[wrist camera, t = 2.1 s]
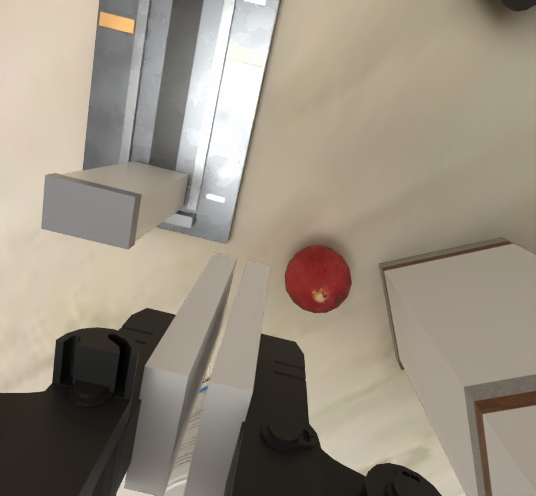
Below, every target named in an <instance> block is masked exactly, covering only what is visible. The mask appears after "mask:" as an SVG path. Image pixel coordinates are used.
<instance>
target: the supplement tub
mask: <svg viewBox="0 0 536 496" xmlns="http://www.w3.org/2000/svg"><path fill="white" fill-rule="evenodd" d="M209 381H210V380H209ZM209 381H206V382H205V383H203V384H202V386H201V389H200V392H199V395H198V398H197V400H196V403H195V406H194V409H193V412H192V415H191V418H190V421H189V424H188V427H187V430H186V433H185V436H184V438H183V441H182V444H181V447H180V450H179V453H178V456H177V459H176V462H175V465H174V468H173V471H172V473H171V476H170V479H169V482H168V485H167V488H166V491H165V494H164V496H183V495H184V491H185V486H186V482H187V477H188V473H189V469H190V464H191V460H192V455H193V451H194V447H195V442H196V438H197V433H198V429H199V425H200V420H201V416H202V411H203V407H204V403H205V398H206V394H207V389H208V385H209ZM155 496H156V495H155Z"/></svg>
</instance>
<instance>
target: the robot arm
mask: <svg viewBox="0 0 536 496" xmlns="http://www.w3.org/2000/svg"><path fill="white" fill-rule="evenodd" d="M236 260H237V257H232V256H228V255H224V254H220V253H216V252H214V254H213V256H212V257H211V259H210V261H209V262H208V264H207V265H206V267H205V269H204V270H203V272H202V274H201V275H200V277H199V278H198V280H197V282H196V283H195V285H194V287H193V288H192V290H191V292H190V293H189V295H188V296H187V298H186V300H185V301H184V303H183V305H182V306H181V308H180V309H179V311H178V313H177V314H176V315H174V314H170V313H166V312H162V311H158V310H153V309H149V308H146V309H144V310H142V311H140V312H137V313H135V314H133V315H131V316H130V318H129V319H128V320H127V321H126V322H125V323H124V325H123V326H122V328H120V329H119V331H117V330H114V329H107V328H85V329H79V330H76V331H73V332H69V333H67V334H65V335H64V336H62V337H60V338H59V339H57V340H56V347H55V358H54V369H53V381H52V384H51V385H50V386H49V387H48V388H47V389H46V391H43V392H33V393H0V496H116V493H117V490H118V488H119V486H120V484H121V482H122V480H123V478H124V476H125V474H126V472H127V474H126V481H125V486H124V488H125V489H130V490H134V491H138V492H143V493H147V494H151V495H156V496H164V494H165V491H166V488H167V485H168V482H169V479H170V476H171V473H172V471H173V468H174V465H175V462H176V459H177V456H178V453H179V450H180V447H181V444H182V441H183V438H184V436H185V433H186V430H187V427H188V424H189V421H190V418H191V415H192V412H193V409H194V406H195V403H196V400H197V398H198V395H199V392H200V389H201V386H202V383H203V380H204V377H205V374H206V371H207V368H208V365H209V363H210V360H211V357H212V354H213V351H214V348H215V345H216V342H217V339H218V336H219V333H220V330H221V326H222V322H223V318H224V313H225V309H226V304H227V300H228V295H229V291H230V287H231V282H232V278H233V273H234V269H235V265H236ZM269 270H270V265H265V264H261V263H257V262H253V261H249V260H248V261H247V264H246V267H245V271H244V274H243V277H242V280H241V283H240V286H239V289H238V293H237V296H236V299H235V302H234V305H233V308H232V311H231V315H230V318H229V321H228V324H227V327H226V330H225V334H224V337H223V340H222V343H221V346H220V349H219V352H218V356H217V359H216V362H215V365H214V368H213V371H212V374H211V378H210V381H209V385H208V389H207V394H206V398H205V403H204V407H203V411H202V416H201V420H200V425H199V429H198V433H197V438H196V442H195V447H194V451H193V455H192V460H191V464H190V469H189V473H188V477H187V482H186V486H185V491H184V495H183V496H442V495H441V494H440V493H439V492H438V491H437V489H436V488H435V487H434V486H433V485H432V484H431V483H430V482H428V481H427V480H426V479H425V478H423V477H422V476H421V475H420V474H418V473H416V472H414V471H412V470H410V469H408V468H406V467H404V466H400V465H396V464H391V463H385V464H378V465H376V466H374V467H373V468H372V469H371V470H370V471H368V473H367V476H364V475H362V474H360V473H358V472H356V471H354V470H352V469H350V468H348V467H346V466H344V465H342V464H341V463H339V462H337V461H336V460H334V459H333V458H331V457H330V456H329V455H328V454H327V453H325V452H324V451H323V450H322V449H321V446H320V442H319V439H318V436H317V433H316V432H315V431H314V429H313V428H312V427H311V425H310V424H309V418H308V404H307V389H306V381H305V379H306V375H305V361H304V354H303V352H302V351H301V349H300V348H299V346H298V345H297V343H296V342H294V341H289V340H285V339H281V338H277V337H273V336H268V335H264V334H261V329H262V321H263V314H264V307H265V299H266V292H267V285H268V278H269Z"/></svg>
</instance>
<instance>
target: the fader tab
mask: <svg viewBox="0 0 536 496" xmlns="http://www.w3.org/2000/svg"><path fill="white" fill-rule="evenodd" d="M188 177H189V175H188V174H184V173H180V172H176V171H172V170H168V169H164V168H160V167H156V166H152V165H148V164H144V163H140V162H135V161H131V162H126V163H120V164H115V165H110V166H104V167H99V168H94V169H88V170H83V171H77V172H72V173H67V174H61V175H60V174H56V173H54V174H48V175H45V186H44V200H43V214H42V228H41V229H45V230H50V231H54V232H58V233H62V234H66V235H70V236H74V237H79V238H83V239H87V240H91V241H95V242H99V243H103V244H108V245H112V246H116V247H120V248H124V249H129V248H131V247H132V246H133V245H134V244H135V241H136V240H138V239H139V238H141V237H142V236H143V235H145V234H146V233H148V232H149V231H150V230H152V229H153V228H155V227H156V226H157V225H159V224H160V223H162V222H163V221H164V220H166V219H167V218H169V217H170V216H171V215H173V214H174V213H176V212H177V211H178V210H180V209H181V208H183V205H184V199H185V194H186V188H187V182H188Z"/></svg>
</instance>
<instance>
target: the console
mask: <svg viewBox="0 0 536 496" xmlns="http://www.w3.org/2000/svg"><path fill="white" fill-rule="evenodd" d="M280 1H281V0H99V10H98V20H97V30H96V40H95V51H94V61H93V71H92V81H91V91H90V101H89V112H88V122H87V132H86V142H85V152H84V162H83V170H88V169H94V168H99V167H104V166H110V165H115V164H120V163H126V162H131V161H135V162H140V163H144V164H148V165H152V166H156V167H160V168H164V169H168V170H172V171H176V172H180V173H184V174H188V175H189V177H188V182H187V188H186V194H185V199H184V205H183V208H181V209H180V210H178V211H177V212H176V213H174V214H173V215H171V216H170V217H169V218H167V219H166V220H164V221H163V222H162V223H160V224H159V225H157V226H156V227H158V228H162V229H167V230H171V231H175V232H179V233H183V234H187V235H191V236H195V237H200V238H204V239H208V240H212V241H216V242H220V243H224V244H227V242H228V240H229V236H230V232H231V227H232V223H233V218H234V213H235V209H236V204H237V200H238V195H239V190H240V186H241V181H242V177H243V172H244V167H245V163H246V158H247V153H248V149H249V144H250V140H251V135H252V130H253V126H254V121H255V117H256V112H257V107H258V103H259V98H260V94H261V89H262V84H263V80H264V75H265V71H266V66H267V61H268V57H269V52H270V47H271V43H272V38H273V34H274V29H275V24H276V20H277V15H278V11H279V6H280Z"/></svg>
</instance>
